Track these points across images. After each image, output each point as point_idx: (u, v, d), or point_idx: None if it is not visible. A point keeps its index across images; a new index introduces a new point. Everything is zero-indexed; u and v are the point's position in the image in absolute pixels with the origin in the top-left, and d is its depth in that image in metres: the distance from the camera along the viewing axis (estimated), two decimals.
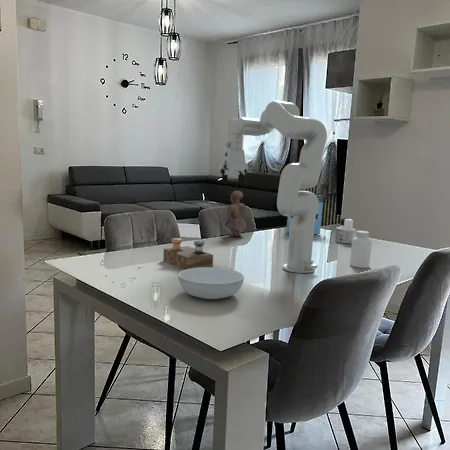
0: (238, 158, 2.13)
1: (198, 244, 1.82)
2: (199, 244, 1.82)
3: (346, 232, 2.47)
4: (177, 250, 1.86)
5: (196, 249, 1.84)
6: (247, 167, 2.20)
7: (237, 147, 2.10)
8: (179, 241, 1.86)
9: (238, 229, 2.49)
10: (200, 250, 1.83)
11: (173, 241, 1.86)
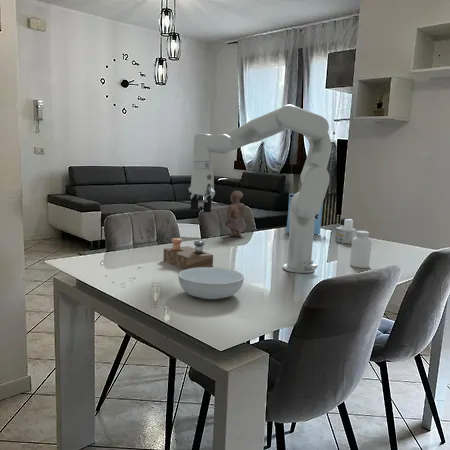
0: None
1: (198, 244, 1.82)
2: (199, 244, 1.82)
3: (346, 232, 2.47)
4: (177, 250, 1.86)
5: (196, 249, 1.84)
6: None
7: None
8: (179, 241, 1.86)
9: (238, 229, 2.49)
10: (200, 250, 1.83)
11: (173, 241, 1.86)
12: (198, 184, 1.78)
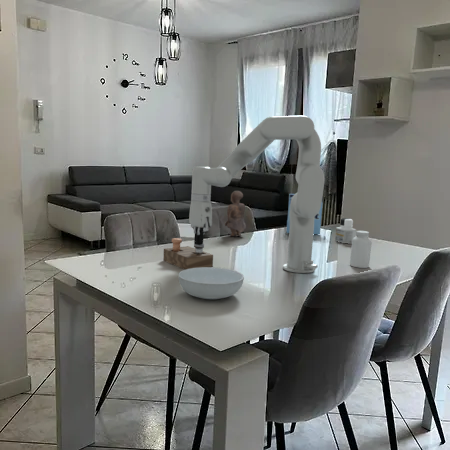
0: None
1: (198, 246, 1.83)
2: (199, 246, 1.83)
3: (346, 232, 2.47)
4: (177, 250, 1.86)
5: (196, 251, 1.84)
6: None
7: None
8: (179, 241, 1.86)
9: (238, 229, 2.49)
10: (200, 252, 1.84)
11: (173, 241, 1.86)
12: (196, 216, 1.80)
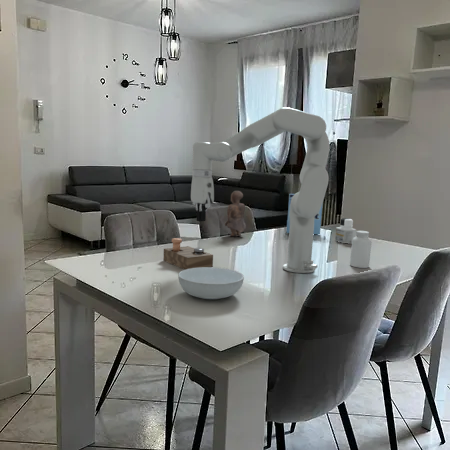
0: None
1: (198, 251, 1.83)
2: (199, 251, 1.83)
3: (346, 232, 2.47)
4: (177, 250, 1.86)
5: None
6: None
7: None
8: (179, 241, 1.86)
9: (238, 229, 2.49)
10: None
11: (173, 241, 1.86)
12: (198, 192, 1.79)
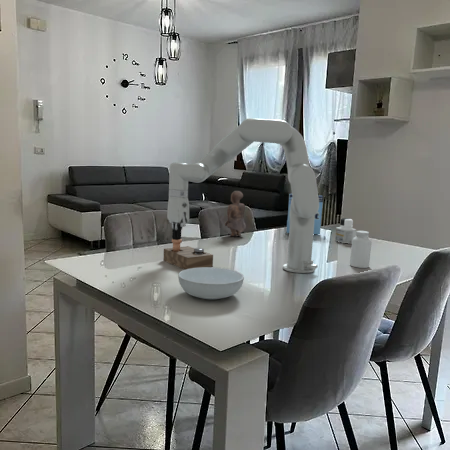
0: None
1: (198, 251, 1.83)
2: (199, 251, 1.83)
3: (346, 232, 2.47)
4: (177, 250, 1.86)
5: None
6: None
7: None
8: (179, 241, 1.86)
9: (238, 229, 2.49)
10: None
11: (173, 241, 1.86)
12: (173, 212, 1.83)
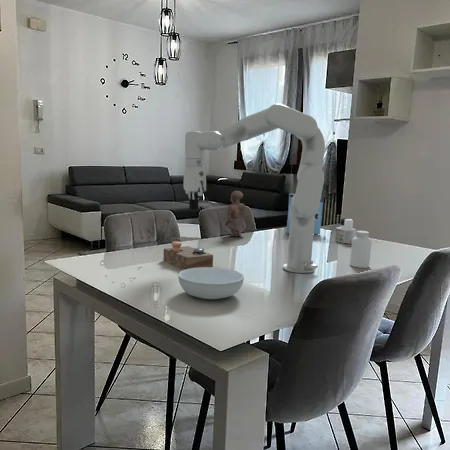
0: None
1: (198, 251, 1.83)
2: (199, 251, 1.83)
3: (346, 232, 2.47)
4: None
5: None
6: None
7: None
8: (179, 244, 1.86)
9: (238, 229, 2.49)
10: None
11: (173, 244, 1.86)
12: (190, 181, 1.82)
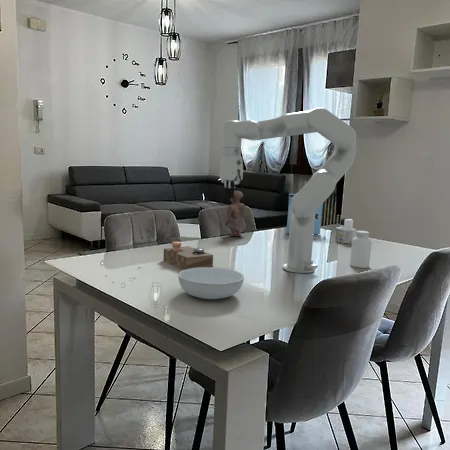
0: None
1: (198, 251, 1.83)
2: (199, 251, 1.83)
3: (346, 232, 2.47)
4: None
5: None
6: None
7: None
8: (179, 244, 1.86)
9: (238, 229, 2.49)
10: None
11: (173, 244, 1.86)
12: (227, 169, 1.83)
